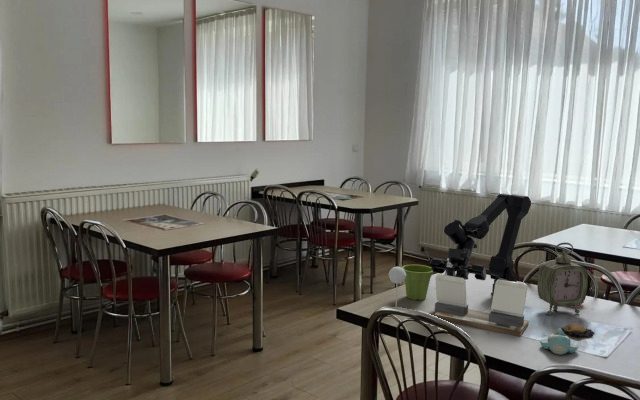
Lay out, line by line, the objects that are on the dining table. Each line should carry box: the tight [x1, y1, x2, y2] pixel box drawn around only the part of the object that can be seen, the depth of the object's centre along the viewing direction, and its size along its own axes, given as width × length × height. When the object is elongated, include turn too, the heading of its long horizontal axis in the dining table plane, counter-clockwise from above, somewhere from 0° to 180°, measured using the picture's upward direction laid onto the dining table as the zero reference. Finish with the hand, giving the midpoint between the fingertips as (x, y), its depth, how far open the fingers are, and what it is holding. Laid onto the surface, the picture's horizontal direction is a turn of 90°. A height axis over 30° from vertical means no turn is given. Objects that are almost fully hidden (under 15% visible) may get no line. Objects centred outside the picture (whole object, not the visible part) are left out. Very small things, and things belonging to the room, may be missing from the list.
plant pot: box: [401, 264, 434, 301], centre depth 217 cm, size 12×12×11 cm
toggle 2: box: [490, 280, 528, 315], centre depth 189 cm, size 2×10×10 cm, turn 59°
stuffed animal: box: [539, 327, 579, 356], centre depth 170 cm, size 11×7×12 cm
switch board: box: [428, 301, 529, 337], centre depth 193 cm, size 12×30×4 cm, turn 59°
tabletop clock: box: [537, 242, 589, 316], centre depth 202 cm, size 14×9×25 cm, turn 102°
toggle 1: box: [434, 273, 468, 306], centre depth 195 cm, size 2×10×10 cm, turn 59°
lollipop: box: [388, 266, 406, 308], centre depth 204 cm, size 6×6×15 cm
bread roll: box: [561, 322, 595, 341], centre depth 184 cm, size 11×8×4 cm
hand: (451, 289), depth 196 cm, fingers closed, pressing on toggle 1
